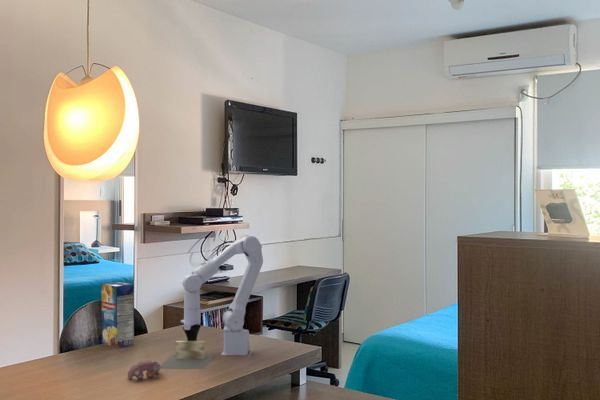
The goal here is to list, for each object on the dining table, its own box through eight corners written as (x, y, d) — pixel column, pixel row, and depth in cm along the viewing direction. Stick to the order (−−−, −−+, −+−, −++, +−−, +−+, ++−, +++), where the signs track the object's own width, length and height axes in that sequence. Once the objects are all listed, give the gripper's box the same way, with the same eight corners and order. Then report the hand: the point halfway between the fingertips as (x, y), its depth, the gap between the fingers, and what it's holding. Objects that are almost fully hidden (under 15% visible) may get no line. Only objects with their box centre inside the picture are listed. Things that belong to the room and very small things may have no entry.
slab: (204, 357, 206) (204, 340, 206) (203, 358, 204) (203, 341, 204) (176, 357, 206) (176, 340, 206) (175, 358, 204) (175, 341, 204)
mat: (215, 356, 209) (215, 354, 209) (204, 370, 191) (204, 368, 191) (171, 356, 210) (171, 354, 210) (156, 370, 192) (156, 368, 192)
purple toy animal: (129, 386, 181) (132, 368, 178) (125, 376, 184) (128, 358, 182) (160, 380, 186) (163, 363, 183) (156, 371, 189) (159, 354, 187)
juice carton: (101, 343, 231) (101, 283, 231) (118, 340, 237) (118, 281, 237) (116, 348, 223) (116, 286, 223) (134, 344, 228) (133, 284, 229)
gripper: (186, 304, 216) (186, 341, 216) (175, 311, 201) (175, 350, 201) (204, 304, 215) (205, 341, 215) (195, 311, 201) (195, 350, 201)
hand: (192, 345), depth 208 cm, fingers closed
